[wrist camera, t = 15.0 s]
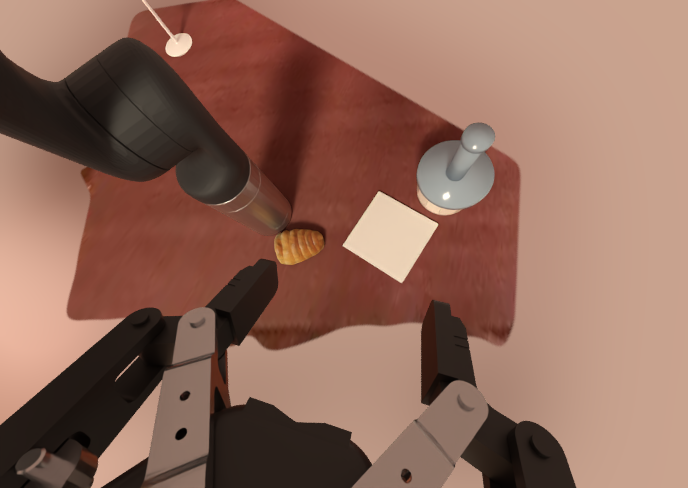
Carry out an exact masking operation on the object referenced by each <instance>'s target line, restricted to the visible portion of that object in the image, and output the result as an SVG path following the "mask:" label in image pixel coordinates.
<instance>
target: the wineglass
mask: <svg viewBox="0 0 688 488" xmlns="http://www.w3.org/2000/svg"><path fill="white" fill-rule="evenodd" d="M142 1H143V3H144V4H145V5H146V6H147V7H148V9H149V10H150V11H151V13H152V14H153V15H154V16H155V18H156V19H157V20H158V22H159V23H160V24H161V25H162V27H163V28H164V29H165V30H166V32H167V33H168V34H169V35H170V37H171V38H170V39H169V41H168V42H167V44H166V52H167V54H168V55H170V56H173V57H177V56H181V55H183V54H185V53H186V52H187V51H188V50H189V49H190V47H191V45H192V39H191V37H190V36H189V35H188V34H186V33H180V34H177V35H174V36H173V34H172V33H171V32H170V31H169V29H168V28H167V27H166V25H165V24H164V23H163V22H162V20H161V19H160V18H159V16H158V15H157V14H156V13H155V11H154V10H153V9H152V8H151V6H150V5H149V4H148V2H147V1H146V0H142Z"/></svg>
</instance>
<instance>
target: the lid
mask: <svg viewBox="0 0 688 488" xmlns="http://www.w3.org/2000/svg"><path fill="white" fill-rule="evenodd" d="M494 140H495V133H494V131H493V129H492V128H491V127H490V126H488V125H487V124H484V123H473V124H471V125H469V126H468V127H467V128H466V129H465V130H464V132H463V134H462V136H461V141H460V140H451V141H445V142H441V143H439V144H437V145H435V146H433V147H431V148H430V149H429V150H428V151H427V152H426V153H425V154H424V155H423V157H422V158H421V160H420V163H419V165H418V169H417V175H416V178H417V184H418V187H419V190H420V191H421V193H422V194H423V196H424V197H425V198H426V199H427V200H428V201H429V202H431V203H432V204H434V205H436V206H438V207H440V208H443V209H448V210H461V209H466V208H469V207H471V206H473V205H475V204H477V203H478V202H479V201H481V200H482V199H483V198H484V197H485V196H486V195H487V194H488V192H489V191H490V189H491V187H492V185H493V182H494V168H493V164H492V162H491V160H490V158H489V157H488V155H487V154H486V153H485V151H487V150H488V149H489V147H490V146H491V145H492V143H493V142H494Z"/></svg>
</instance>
